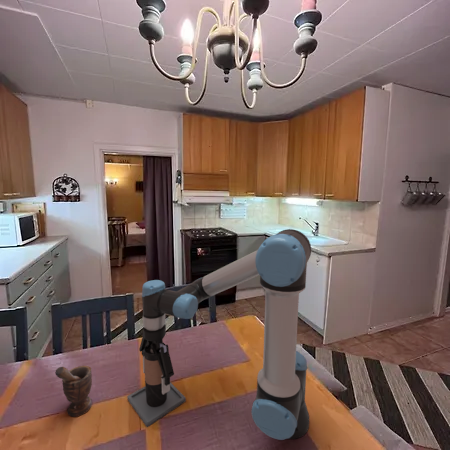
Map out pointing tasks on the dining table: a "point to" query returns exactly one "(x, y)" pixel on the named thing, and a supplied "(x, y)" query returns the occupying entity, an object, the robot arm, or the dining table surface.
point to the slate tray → (155, 413)
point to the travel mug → (153, 379)
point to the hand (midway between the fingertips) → (156, 381)
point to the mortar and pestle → (76, 388)
